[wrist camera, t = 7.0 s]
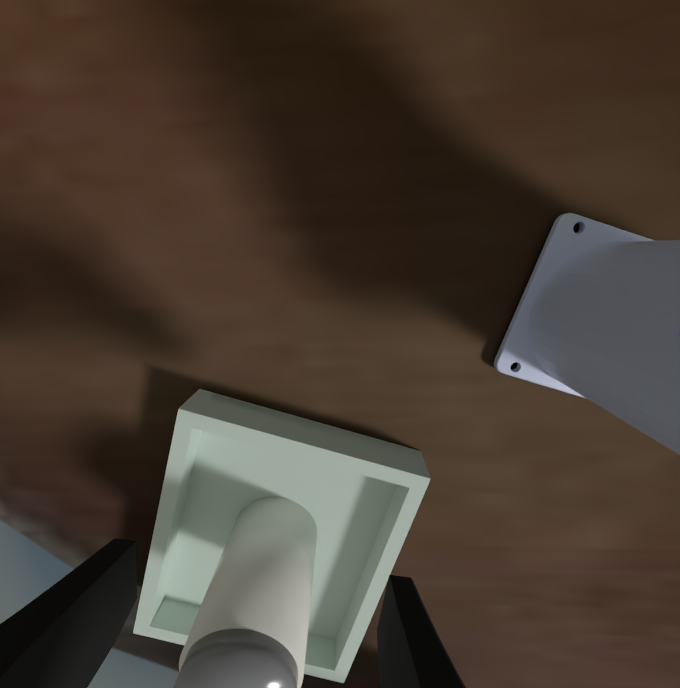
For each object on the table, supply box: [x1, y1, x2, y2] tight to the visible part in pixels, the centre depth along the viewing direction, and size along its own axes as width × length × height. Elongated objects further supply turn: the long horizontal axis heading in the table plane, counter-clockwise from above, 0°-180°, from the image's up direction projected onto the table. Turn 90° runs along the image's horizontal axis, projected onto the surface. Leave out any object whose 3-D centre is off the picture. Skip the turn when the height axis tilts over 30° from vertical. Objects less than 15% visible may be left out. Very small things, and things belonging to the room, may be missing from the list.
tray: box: [133, 389, 431, 683], centre depth 20 cm, size 13×15×2 cm
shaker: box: [174, 497, 317, 688], centre depth 17 cm, size 5×5×8 cm
